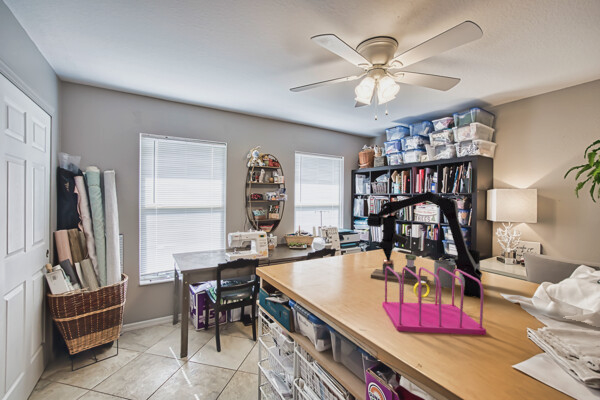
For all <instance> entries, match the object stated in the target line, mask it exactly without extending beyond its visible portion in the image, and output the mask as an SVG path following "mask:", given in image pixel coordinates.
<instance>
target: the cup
mask: <svg viewBox="0 0 600 400" xmlns="http://www.w3.org/2000/svg"><path fill="white" fill-rule="evenodd" d="M433 263H434V264H433V265H434V266H433V273H434V274H435V275H437V269H438V268H439V267H442V268H444V269H446V270H448V271H449V272H451V273H453V271H454V270H455V269H456V264H455V261H454V262H453V261H450V260H441V259H438V260H437V259H436V260H434V262H433ZM456 272H457V271H456ZM456 272H455V275H457V273H456ZM438 277H439V279H440V282H441V288H444V289H447V288H448V289H452V284H453V276H452V275H450V274H449V273H447V272H445V271H444V270H442V269H440V270H439V276H438ZM433 284H434V286H436V277H435V276H433ZM438 287H439V285H438Z"/></svg>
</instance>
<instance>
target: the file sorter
mask: <svg viewBox="0 0 600 400" xmlns="http://www.w3.org/2000/svg"><path fill="white" fill-rule="evenodd" d="M387 269H389V270H391V271H392V272H393V273H394V274H395V275H396V276H397V277H398V280H399V283H398V286H399V287H398V289H399V294H398V295H399V299H398V300H399V301H397V302H396V301H388V298H387V297H388V281H387ZM405 269H406V270H407V271H409V272H410V273H412V274H413V275H414V276H415V277H417V279H418V286H417V289H418V290H417V291H418V292H417V295H418V296H417V298H418V299H417V302H404V298H405V296H404V295H405V294H404V288H405V286H404V285H405V284H404V273H405ZM440 269H442V270H444V271H445V272H447V273H449V274H450V275H452V276H453V284H452V288H451V289H452V290H451V291H452V292H451V304H450V303H449V304H446V303H442V287H441V282H440V279H439V277H438V276H439V270H440ZM422 270H423V271H425V272H426V273H429V274H430V275H432V276H433V277H434V276H435V277H436V285H435V297H434V298H435V299H434V303H428V302H427V303H422V301H423V300H422V298H423V297H422V295H423V294H422V291H423V289H422V287H423V286H422V285H421V280H420V277H421V276H422V274H421V271H422ZM396 272H397V271H395V269H394V270H392V269H391V268H390V267H389V266H387V267H386V270H385V280H384V301H382V308H383V309H384V312H386V314H387V316H388V318H389V320H390V321H391V323H392V325H393V326H394V328H395V329H396V331H397V332H411V333H415V332H416V333H428V334H429V333H431V334H436V333H437V334H453V335H454V334H455V335H456V334H458V335H478V336H487V329H486V328H484V326H483V318H484V317H483V316H484V290H485V289H484V286H483V283H482V281H481V282H480V281H479V280H478V279H476V278H474V277H473V276H471V275H469V274H467V273H465V272H463V271H461V270H459V269H455V270H454V271H453V273H451V272H449V271H448V270H446V269H444V268H442V267H439V268H438V269H437V275H435V274H434V272H432V271H430V270H429V269H427V268H424V266H423V267H419V268H418V274H417V273H416V274H415V273H414V272H412V271H411V270H409V269H408V268H407V267H405V266H403V267H402V271H401V273H402V283H401V279H400V276H399V275H398V274H397V273H396ZM455 272H461V273H463V274H464V275H466V276H468V277H470V278H472V279H474V280H476V281H477V282H478V283H479V285H480V288H481V298H480V303H479V304H480V307H479V308H480V309H479V322H477V321H476V320H475V319H473V317H471V316H470V315H469V314H467V313H466V312H465V311H464V310H463V309H464V296H465V295H464V285H463V282H462V280H461V279H460V278H459V275H457V274H455ZM417 275H419V276H417ZM456 280H458V281H460V283H461V284H460V290H461V291H460V305H459V306H457V305H456V304H455V288H456ZM438 285H439V286H438Z"/></svg>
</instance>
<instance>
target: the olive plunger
mask: <svg viewBox="0 0 600 400" xmlns="http://www.w3.org/2000/svg"><path fill="white" fill-rule="evenodd" d="M405 259H406V265H407V267H409V268H414V266H415V261H416V260H417V254H409V253H405Z"/></svg>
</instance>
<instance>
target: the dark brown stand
mask: <svg viewBox="0 0 600 400" xmlns="http://www.w3.org/2000/svg"><path fill="white" fill-rule="evenodd" d="M387 266H389V267H390V268H391V269H392V270H394V271H395V268H394V267H395V263H394V262H393V264H392V265H387V264H384V263H383V262H382V269H381V268H379V269H378V268H375V269H374V271H372V273H370V279H373V280H381V281H385V270H386V267H387ZM404 267H407V264H406V265H405V266H404ZM407 268H408V269H409V270H411V271H412V272H414V273H415V274H416V275H417V276H419V274H417V266H416V265H414V268H409V267H407ZM395 272H396V273H397V274H398V275H399V276H400V279H401V284H402V271H395ZM420 280H421V281H424V282H426V284H427V285H428V276H426V275H421V277H420ZM387 282H392V283H393V282H394V283H398V284H399V280H398V277H397V276H396V275H395V274H394V273H393V272H392V271H391V270H389V269H387ZM416 283H418V279H417V277H415V276H414V275H413V274H412V273H410V272H409V271H407V270H406V269H405V270H404V285H412V286H415V284H416ZM426 284H425V285H422V284H421V285H422V287H423V288H424V287H425V288H427V286H426Z"/></svg>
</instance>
